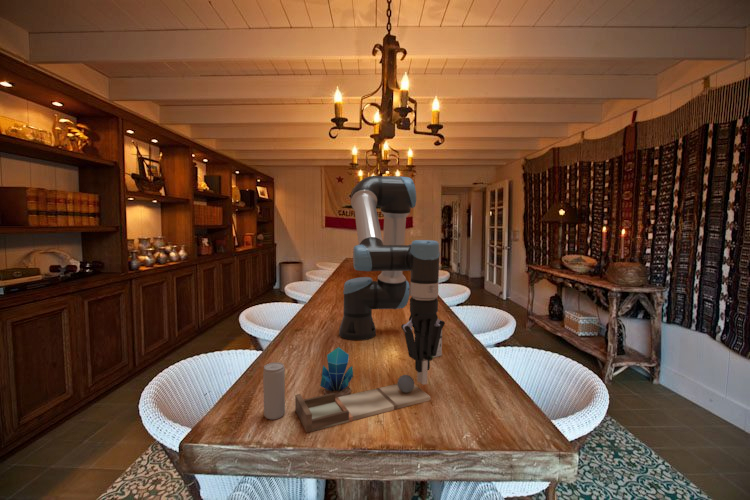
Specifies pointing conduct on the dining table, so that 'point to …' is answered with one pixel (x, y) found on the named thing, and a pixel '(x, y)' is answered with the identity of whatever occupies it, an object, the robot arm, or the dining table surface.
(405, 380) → the ball
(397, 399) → the lane
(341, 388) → the gemstone
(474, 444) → the dining table surface
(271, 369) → the beverage can
